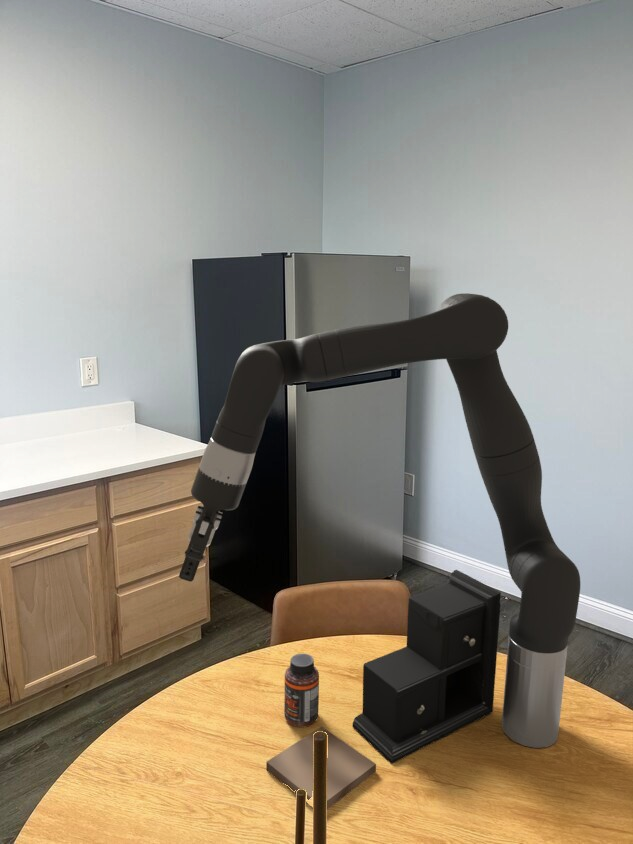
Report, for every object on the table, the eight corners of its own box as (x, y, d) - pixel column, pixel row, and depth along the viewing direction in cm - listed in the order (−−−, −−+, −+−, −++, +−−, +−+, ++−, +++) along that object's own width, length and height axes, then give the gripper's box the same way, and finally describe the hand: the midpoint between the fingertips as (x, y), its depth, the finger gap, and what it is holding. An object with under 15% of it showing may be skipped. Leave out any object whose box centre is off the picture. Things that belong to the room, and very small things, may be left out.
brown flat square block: (321, 734, 112) (321, 726, 111) (375, 772, 103) (376, 763, 103) (266, 769, 104) (266, 761, 103) (320, 814, 95) (320, 805, 95)
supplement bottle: (277, 717, 116) (276, 659, 113) (301, 702, 120) (301, 645, 118) (301, 733, 112) (302, 673, 109) (325, 717, 116) (326, 658, 114)
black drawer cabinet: (391, 765, 105) (397, 630, 100) (350, 727, 114) (354, 600, 109) (494, 714, 118) (504, 591, 112) (450, 683, 126) (457, 568, 121)
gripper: (244, 494, 94) (207, 595, 97) (250, 467, 108) (218, 556, 110) (192, 477, 93) (157, 579, 96) (206, 452, 107) (174, 542, 110)
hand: (190, 567), depth 103 cm, fingers open, 8 cm apart
